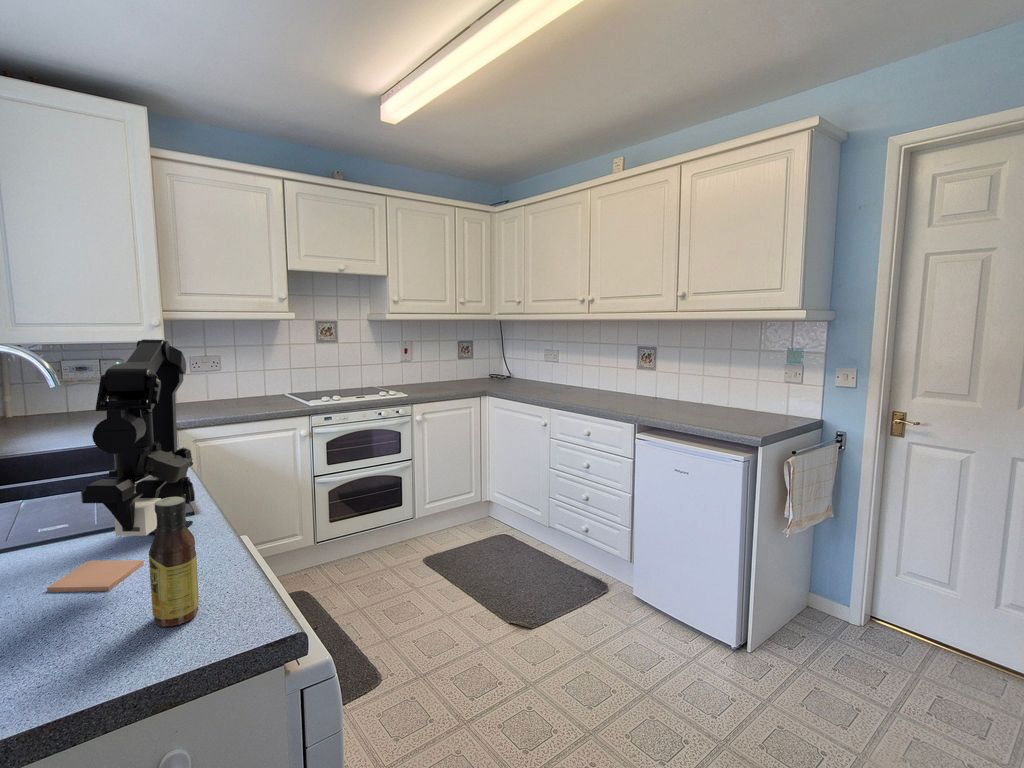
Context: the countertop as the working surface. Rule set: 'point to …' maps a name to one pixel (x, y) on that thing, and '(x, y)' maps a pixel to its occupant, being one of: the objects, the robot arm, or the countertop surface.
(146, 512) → the cream letter cube
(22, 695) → the countertop surface
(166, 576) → the sauce bottle
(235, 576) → the countertop surface
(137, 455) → the robot arm
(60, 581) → the terracotta tile
